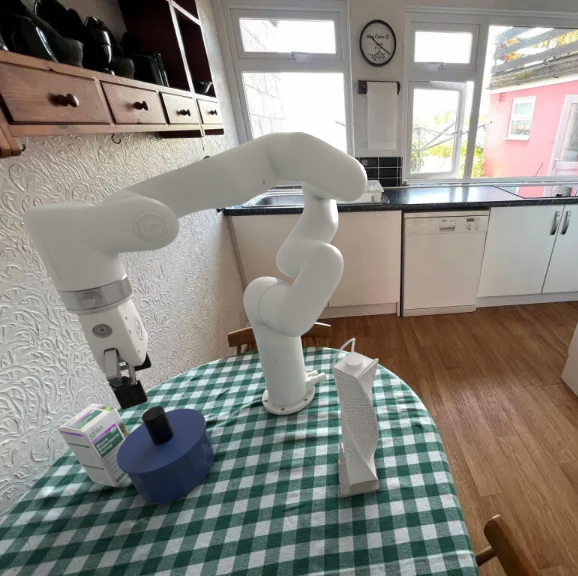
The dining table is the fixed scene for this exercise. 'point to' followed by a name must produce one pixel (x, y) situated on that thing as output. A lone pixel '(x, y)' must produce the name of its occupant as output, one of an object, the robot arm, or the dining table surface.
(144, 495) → the pot
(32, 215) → the robot arm
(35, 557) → the dining table surface
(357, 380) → the skyscraper
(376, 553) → the dining table surface
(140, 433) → the lid
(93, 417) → the syrup box
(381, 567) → the dining table surface
